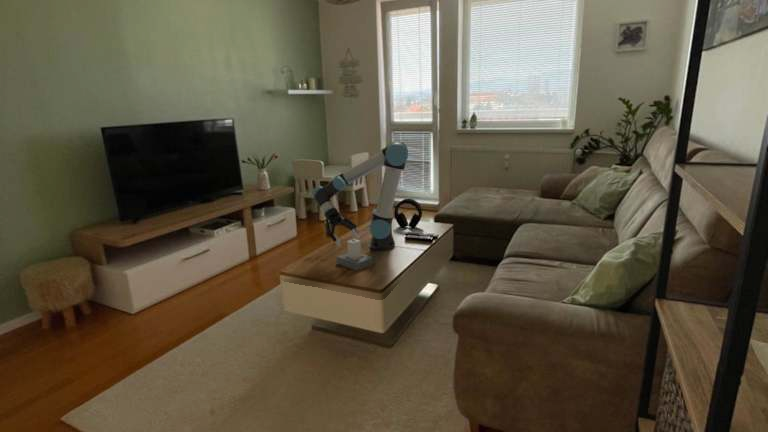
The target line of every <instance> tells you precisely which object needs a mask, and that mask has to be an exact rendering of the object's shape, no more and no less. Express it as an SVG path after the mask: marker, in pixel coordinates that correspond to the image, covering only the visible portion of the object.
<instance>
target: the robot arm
mask: <svg viewBox="0 0 768 432" xmlns="http://www.w3.org/2000/svg"><path fill="white" fill-rule="evenodd" d="M408 150H409V149H408V147H407V145H406V144H405V143H404V142H403V141H400V140H396V141H392V142H391V143H389V144H388V145H387V146H386V147H384V148H382V149H381V150H380V152H378V153H376V154H375V155H373V156H371V157H370V158H367V159H365V160H363V161H362V162H360V163H359V164H357V165H355V166H353V167H351V168H349V169H348V170H345V171H344V172H342V173H340V174H337V175H335V176H333V178H332V179H331V180H330V181H329V182H328V183H326V185H325V186H321V185H319V186H317V187H315V188H313V190H312V191H311V195H312V197H313V199H314V201H315V202H316V204H317V206H318V207H319V209H320V211H321V212H322V213H323V215H324V217H325V220H324V221H323V223H324V226H325V234H326V237H327V238H330V239H331V240H332V242H334V243H335V245H336V247H337V248H339V247H341V246H342V243H341V241H340V240H339V239H338V237H337V236H338V235H336V234H335V228H336V227H337V226H343V227H345V228H347V229H349V230H350V233H351V234H352V235H353V237H354V239H356V240H359V241H360V238H361V237H360V235H359V234H358V231H357V230H356V228H357V227H358V226H357V224H356V223H354V222H353V221H351V219H350V218H348V217H347V216H346V215H345V214H343V215H340V212H339V210H338V209H337V208H336V206H335V204H334V202H333V201H332V200H331V199H332V198H333V197H334V196H336V195H337V194H339V193H340V192H341V191H343V190H344V189H345V188H346V187H347V186H349V185H351V184H352V183H354V182H356V181H358V180H359V179H362V178H363V177H365V176H367V175H369V174H371V173H373V172H374V171H376V170H379V169H380V168H383V167H384V168H385V169H384V172H383V173H384V174H383V178H382V183H381V187H380V193H379V197H378V202H377V206H376V209H373V210H372V211H371V220H370V225H369V228H368V229H369V233H370V235H371V238H370V243H369V247H370V249H372V250H375V251H389V250H392V249H394V248H395V247H396V242H395V239H394V236H393V232H392V231H393V226H392V225H393V220H394V214H393V208H394V203H395V199H396V194H397V190H398V186H399V181H400V176H401V173H402V172H403V171H404V170H405V168H406V163H407V160H408V157H409V151H408Z"/></svg>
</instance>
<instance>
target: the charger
mask: <svg viewBox="0 0 768 432" xmlns="http://www.w3.org/2000/svg"><path fill="white" fill-rule="evenodd" d="M361 243H362V241H361V240H360V239H359V240H356V239H355V238H353V239H350V240H348V241H347V243H346V245H347V253H348V259H351V260H354V261H355V260H357V259H360V258H361V254H362V244H361Z"/></svg>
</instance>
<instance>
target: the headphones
mask: <svg viewBox="0 0 768 432" xmlns="http://www.w3.org/2000/svg"><path fill="white" fill-rule="evenodd" d="M405 204H406V205H407V204H408V205H412V206H414V207H415V209H416V211H417V213H415V212H414V213H413V215H412V217H411V219H410V220H409V222H408V220H407V217H406V215H405V213H403V212H400V213H399V209H400V206H403V205H405ZM393 217H394V219H395V221H396V223H397V225H398V226H399V228H406V227H410V228H412V229H415V228H416V227H417V225H419V223H420V221H421V219H422V217H423V209H422V207H421V205H420V204H419V202H418V201H416V200H415V199H413V198H404V199H402V200H401V201H399V202H398V203H397V205H396V206H395V208H394V210H393Z"/></svg>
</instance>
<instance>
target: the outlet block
mask: <svg viewBox="0 0 768 432" xmlns="http://www.w3.org/2000/svg"><path fill="white" fill-rule="evenodd" d="M336 264H337V265H340V266H342V267H346V268H348V269H351V270H353V271H356V272H358V271H360V270H363V269H366V268H368V267H371V266H373V265H374V257H372V256H371V255H367V254H363V253H361V258H360V259H357V260H355V261H354V260H351V259H348V252H346V253H343V254H340V255H337V256H336Z"/></svg>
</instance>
